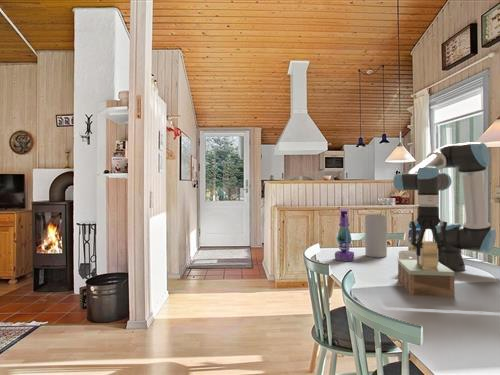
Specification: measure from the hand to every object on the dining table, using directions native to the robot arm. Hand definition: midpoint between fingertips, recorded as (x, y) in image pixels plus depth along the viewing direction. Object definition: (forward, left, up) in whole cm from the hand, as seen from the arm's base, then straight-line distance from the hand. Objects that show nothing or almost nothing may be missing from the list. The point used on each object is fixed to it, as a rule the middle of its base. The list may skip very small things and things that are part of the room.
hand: (428, 264), depth 149 cm
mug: (-32, 0, -13) cm, 35 cm away
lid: (-6, 0, -3) cm, 7 cm away
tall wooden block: (0, 0, -11) cm, 11 cm away
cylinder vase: (-82, -8, -13) cm, 84 cm away
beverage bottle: (-87, +16, -13) cm, 90 cm away
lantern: (-67, -28, -13) cm, 74 cm away
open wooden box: (-6, 0, -12) cm, 14 cm away
